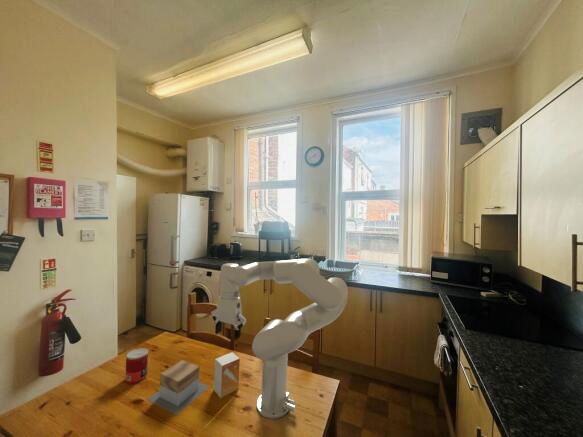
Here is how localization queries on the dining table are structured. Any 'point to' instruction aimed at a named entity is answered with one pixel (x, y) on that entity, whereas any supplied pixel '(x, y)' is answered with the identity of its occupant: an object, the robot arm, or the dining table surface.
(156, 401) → the mat
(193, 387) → the tower base
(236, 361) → the small box
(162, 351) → the dining table surface
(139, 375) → the canned food
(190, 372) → the tower top
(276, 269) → the robot arm
